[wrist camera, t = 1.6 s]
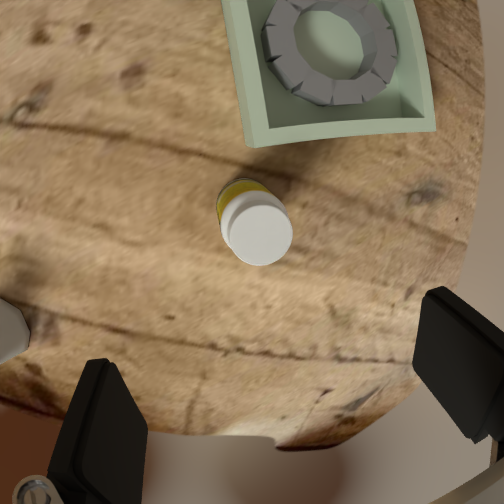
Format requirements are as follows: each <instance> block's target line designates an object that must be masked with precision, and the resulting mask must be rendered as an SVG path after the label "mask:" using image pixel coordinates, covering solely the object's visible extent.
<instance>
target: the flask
mask: <svg viewBox="0 0 504 504" xmlns="http://www.w3.org/2000/svg"><path fill="white" fill-rule="evenodd" d="M29 337H30V331H29V329H28V327H27V324H26V322H25V320H24V318H23V315H22V313H21V311H20V310H19V309H17V308H16V307H14V306H12V305H11V304H9V303H7V302H6V301H4V300H3V299H1V298H0V364H2V363H3V362H5V361H7V360H9V359H10V358H12V357H14V356H16V355H18V354H20V353H22V352H24V351H26V350H27V349H28V343H29Z"/></svg>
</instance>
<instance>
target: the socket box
mask: <svg viewBox="0 0 504 504" xmlns="http://www.w3.org/2000/svg"><path fill="white" fill-rule="evenodd" d="M221 3H222V9H223V14H224V20H225V26H226V31H227V37H228V43H229V49H230V54H231V60H232V66H233V72H234V78H235V83H236V89H237V95H238V101H239V107H240V113H241V119H242V125H243V131H244V137H245V143H246V146H249V147H252V148H259V147H266V146H272V145H279V144H286V143H293V142H301V141H309V140H318V139H327V138H336V137H346V136H358V135H370V134H385V133H403V132H432V131H436V124H435V114H434V105H433V96H432V89H431V82H430V75H429V69H428V63H427V58H426V52H425V47H424V42H423V38H422V33H421V29H420V24H419V20H418V16H417V12H416V8H415V5H414V1H413V0H221Z"/></svg>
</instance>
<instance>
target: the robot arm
mask: <svg viewBox="0 0 504 504" xmlns="http://www.w3.org/2000/svg"><path fill="white" fill-rule="evenodd" d="M412 364H413V368H414V371H415V372H416V373H417V375H418V376H419V377H420V378H421V380H422V381H423V382H424V383H425V385H426V386H427V387H428V389H429V390H430V391H431V392H432V394H433V395H434V396H435V397H436V399H437V400H438V401H439V403H440V404H441V405H442V407H443V408H444V409H445V410H446V411H447V413H448V414H449V416H450V417H451V418H452V420H453V421H454V422H455V424H456V425H457V426H458V428H459V429H460V430H461V432H462V433H463V434H464V436H465V437H466V438H469V439H470V438H471V440H472V441H473V442H474V444H476V443H478V442H480V441H481V440H483V439H484V438H486V437H487V436H488V434H490V436H491V437H492V448H491V458H490V467H489V468H488V469H486V470H485V471H483V472H482V473H480V474H479V475H477V476H476V477H474V478H473V479H471V480H469V481H468V482H466V483H465V484H463V485H461V486H460V487H458V488H456V489H455V490H453V491H451V492H449V493H447V494H446V495H444V496H442V497H440V498H439V499H437V500H435V501H433V502H431V503H429V504H504V332H503V331H501V330H500V329H499V328H498V327H496V326H495V325H494V324H493V323H492V322H490V321H489V320H488V319H487V318H485V317H484V316H483V315H481V314H480V313H479V312H478V311H476V310H475V309H474V308H473V307H471V306H470V305H469V304H467V303H466V302H465V301H463V300H462V299H461V298H460V297H458V296H457V295H456V294H454V293H453V292H452V291H450V290H449V289H448V288H446V287H444V286H440V287H437V288H434V289H431V290H428V291H427V292H426V294H425V296H424V297H423V299H422V304H421V312H420V319H419V326H418V332H417V338H416V344H415V350H414V355H413V361H412ZM147 435H148V428H147V423H146V421H145V419H144V417H143V416H142V414H141V412H140V410H139V409H138V407H137V405H136V403H135V401H134V399H133V398H132V396H131V394H130V392H129V390H128V388H127V386H126V384H125V382H124V380H123V378H122V376H121V374H120V372H119V370H118V368H117V366H116V365H115V363H113V362H111V363H110V361H109V360H108V359H106V358H102V359H92V360H88V361H87V363H86V365H85V367H84V370H83V372H82V375H81V377H80V380H79V382H78V385H77V387H76V390H75V392H74V395H73V397H72V400H71V403H70V405H69V408H68V411H67V413H66V416H65V419H64V422H63V424H62V427H61V430H60V433H59V436H58V439H57V442H56V445H55V448H54V451H53V454H52V457H51V460H50V464H49V467H48V470H47V471H48V474H47V477H44V476H40V475H31V476H29V477H26V478H24V479H23V480H22V481H20V482H19V483H18V485H17V486H16V487H15V490H14V492H13V499H12V501H13V504H141V500H142V486H143V474H144V463H145V453H146V444H147Z"/></svg>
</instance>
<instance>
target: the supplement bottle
mask: <svg viewBox="0 0 504 504" xmlns="http://www.w3.org/2000/svg"><path fill="white" fill-rule="evenodd" d="M216 210H217V215H218V220H219V225H220V229H221V233H222V236H223V238H224V240H225V242H226V243H227V245H228V246H229V247H230V248H231V249H232V250H233V251H234V253H235V254H236V256H237V257H238V258H240V259H241V260H242V261H244V262H246V263H248V264H251V265H257V266H261V265H268V264H271V263H273V262H275V261H277V260H278V259H280V258H281V257H282V256H283V255H284V254H285V253H286V252H287V250H288V248H289V247H290V244H291V241H292V237H293V230H292V225H291V222H290V220H289V218H288V214H287V211H286V209H285V207H284V205H283V204H282V203H281V201H280V200H279V199H278V198H276V197H275V196H274V195H273V194H272V193H271V192H270V191H269V190H267V189H266V188H265V187H264V186H263V185H262V184H261V183H259V182H257V181H255V180H252V179H248V178H242V179H237V180H234V181H232V182H230V183H228V184H227V185H226V186H225V187H224V188H223V189H222V190H221V192H220V193H219V195H218V198H217V203H216Z"/></svg>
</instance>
